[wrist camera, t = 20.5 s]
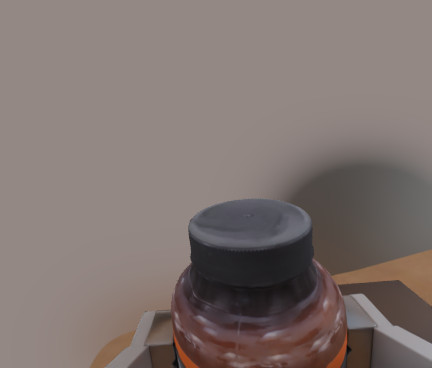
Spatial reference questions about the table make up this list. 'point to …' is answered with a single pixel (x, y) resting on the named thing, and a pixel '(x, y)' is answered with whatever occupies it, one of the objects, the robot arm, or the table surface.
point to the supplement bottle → (256, 292)
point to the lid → (396, 305)
